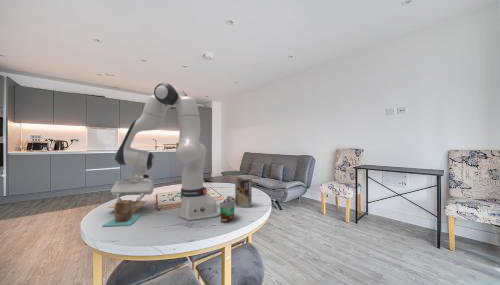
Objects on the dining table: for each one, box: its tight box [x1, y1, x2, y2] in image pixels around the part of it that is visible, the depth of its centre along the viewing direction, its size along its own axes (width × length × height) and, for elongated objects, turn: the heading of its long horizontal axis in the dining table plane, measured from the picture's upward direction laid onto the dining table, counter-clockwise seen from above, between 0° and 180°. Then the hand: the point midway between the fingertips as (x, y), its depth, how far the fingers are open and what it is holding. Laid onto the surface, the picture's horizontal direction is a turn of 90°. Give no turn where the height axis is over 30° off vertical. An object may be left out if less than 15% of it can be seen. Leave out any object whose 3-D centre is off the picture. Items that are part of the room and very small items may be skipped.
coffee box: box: [234, 177, 253, 208], centre depth 117 cm, size 9×6×16 cm
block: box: [114, 199, 133, 222], centre depth 93 cm, size 5×5×9 cm
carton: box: [108, 200, 148, 214], centre depth 109 cm, size 16×10×4 cm, turn 97°
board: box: [102, 214, 142, 228], centre depth 93 cm, size 12×12×1 cm
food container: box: [219, 195, 236, 224], centre depth 96 cm, size 12×6×10 cm, turn 168°
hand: (128, 201), depth 98 cm, fingers open, 8 cm apart
